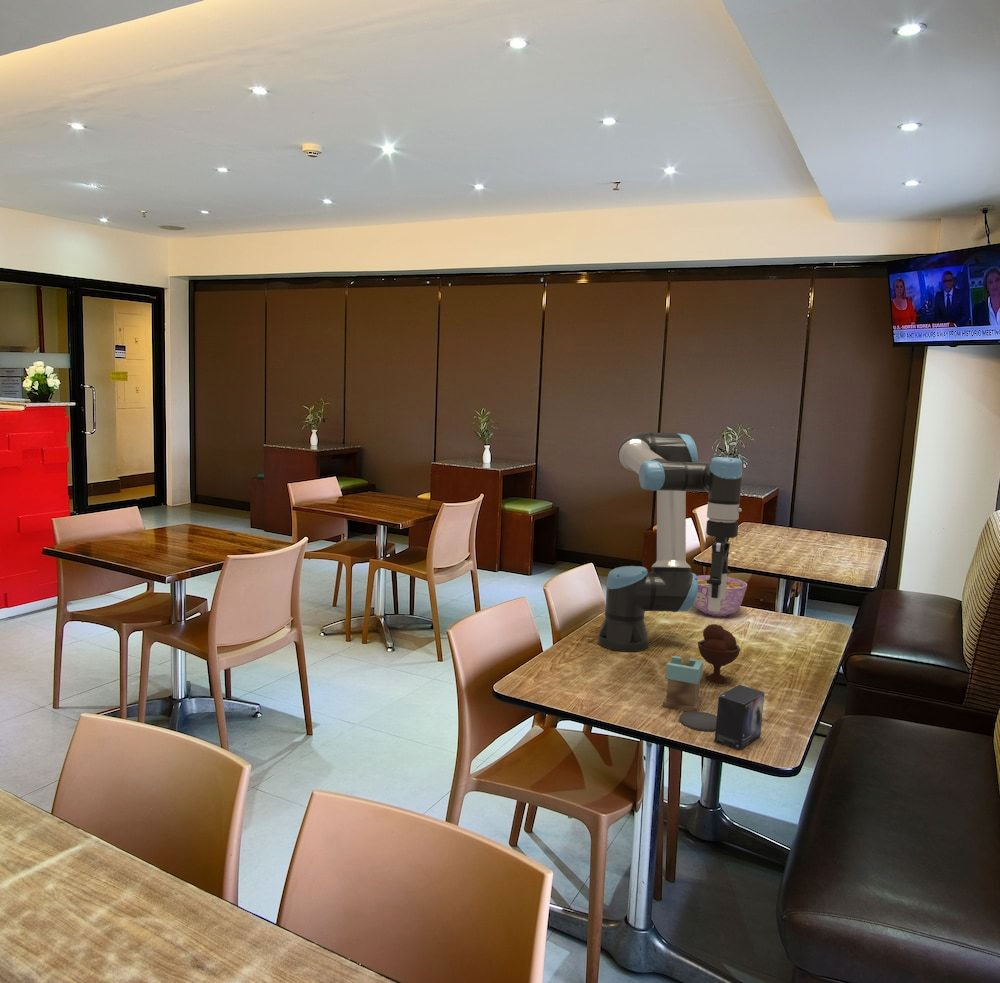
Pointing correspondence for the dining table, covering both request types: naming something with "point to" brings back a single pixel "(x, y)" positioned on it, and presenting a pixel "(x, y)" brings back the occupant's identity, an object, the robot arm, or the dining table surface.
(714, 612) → the bowl of food
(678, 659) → the c link
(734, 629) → the dining table surface
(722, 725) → the small box
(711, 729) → the coaster
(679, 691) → the stand
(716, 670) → the ice cream bowl
